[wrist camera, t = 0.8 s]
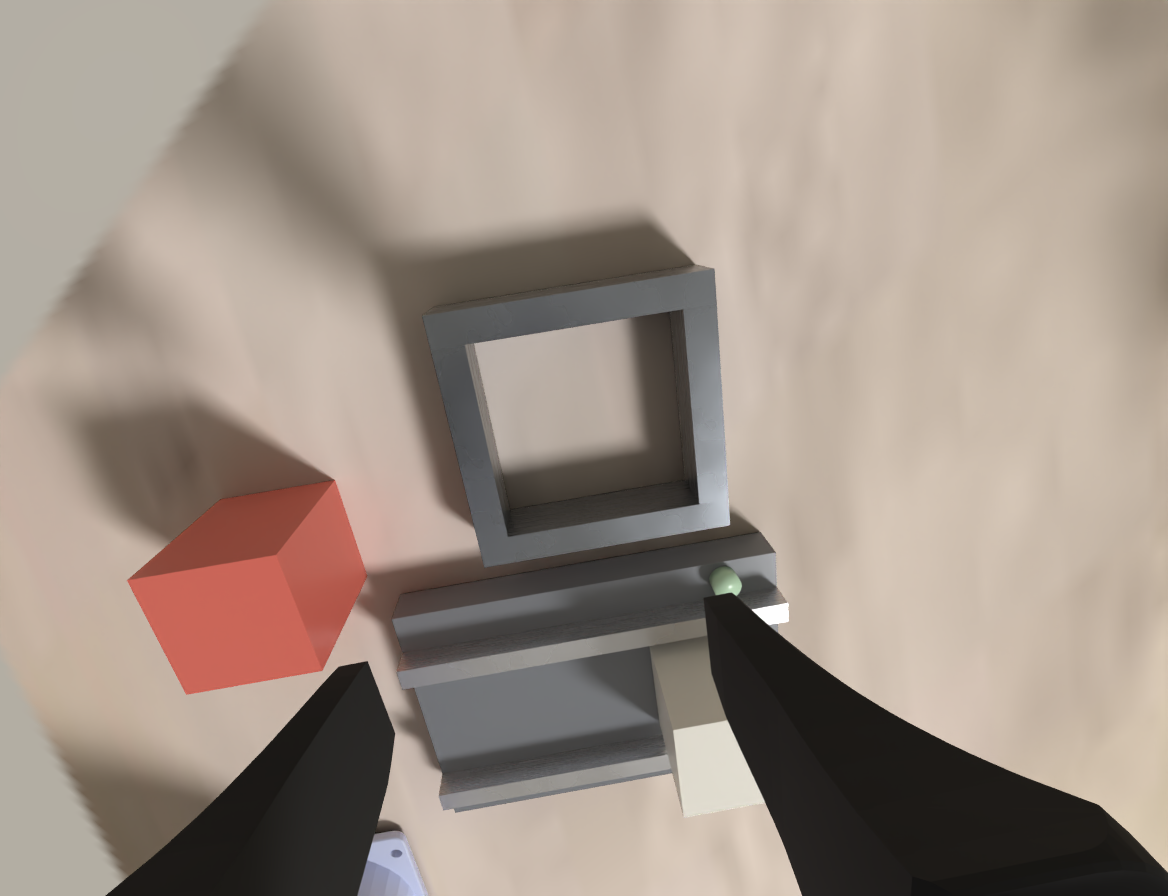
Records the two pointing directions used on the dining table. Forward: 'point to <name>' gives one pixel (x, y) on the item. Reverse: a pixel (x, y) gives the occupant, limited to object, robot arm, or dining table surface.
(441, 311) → the grey square frame
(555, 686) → the breaker panel
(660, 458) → the dining table surface
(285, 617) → the red block
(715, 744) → the block
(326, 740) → the robot arm
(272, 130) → the dining table surface
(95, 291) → the dining table surface
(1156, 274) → the dining table surface
